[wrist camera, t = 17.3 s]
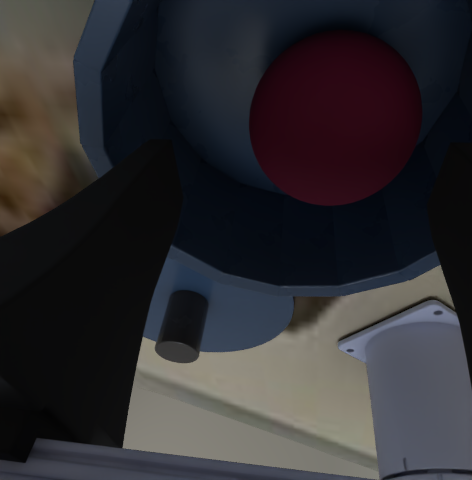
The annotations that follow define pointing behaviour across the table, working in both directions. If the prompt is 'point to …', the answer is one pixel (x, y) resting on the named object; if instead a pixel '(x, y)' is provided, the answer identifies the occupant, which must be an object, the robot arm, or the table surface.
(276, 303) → the pot lid
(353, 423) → the table surface
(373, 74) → the ball
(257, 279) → the pot
